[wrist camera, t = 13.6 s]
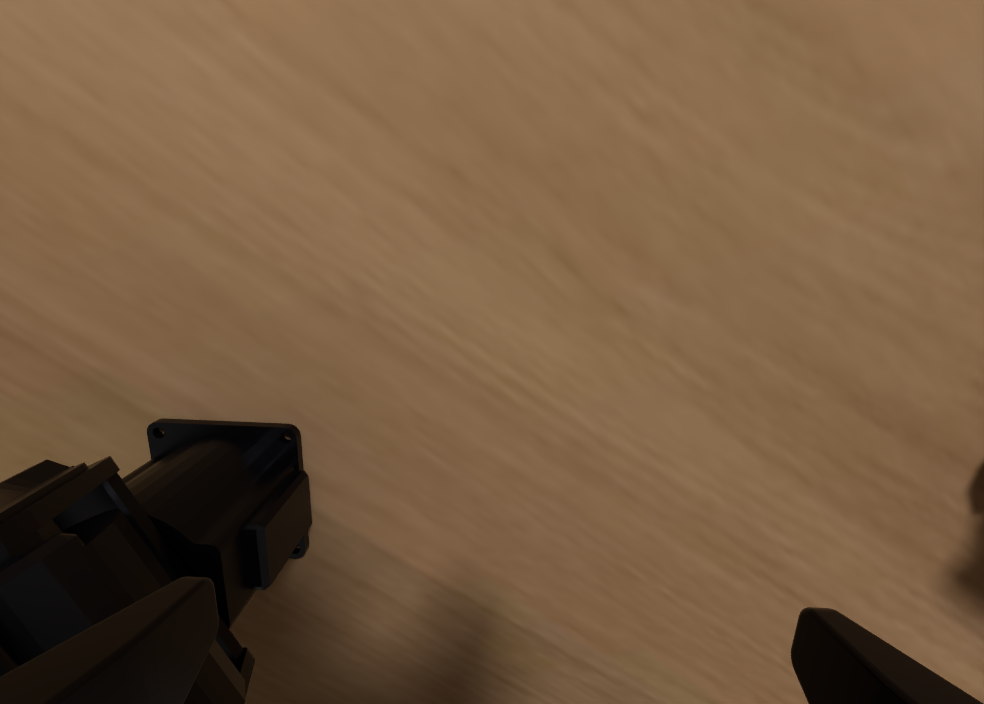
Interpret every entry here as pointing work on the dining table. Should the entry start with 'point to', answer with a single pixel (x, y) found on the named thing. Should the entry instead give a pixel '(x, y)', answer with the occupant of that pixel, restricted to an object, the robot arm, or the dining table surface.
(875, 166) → the dining table surface
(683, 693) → the dining table surface
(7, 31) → the dining table surface
